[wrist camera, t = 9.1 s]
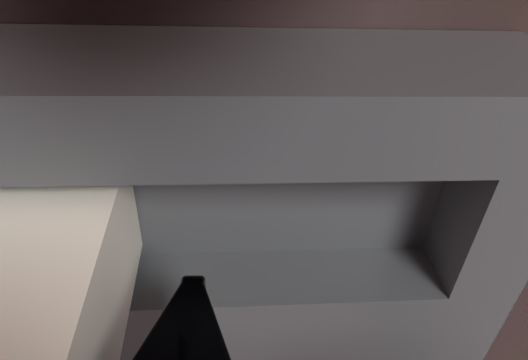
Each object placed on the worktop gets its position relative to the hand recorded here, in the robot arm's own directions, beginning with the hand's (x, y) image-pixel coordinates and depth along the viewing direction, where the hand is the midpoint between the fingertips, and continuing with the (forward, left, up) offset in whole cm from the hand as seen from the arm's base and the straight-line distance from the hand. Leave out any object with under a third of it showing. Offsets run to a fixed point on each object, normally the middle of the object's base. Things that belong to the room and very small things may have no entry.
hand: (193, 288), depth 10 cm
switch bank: (0, +5, -5) cm, 7 cm away
